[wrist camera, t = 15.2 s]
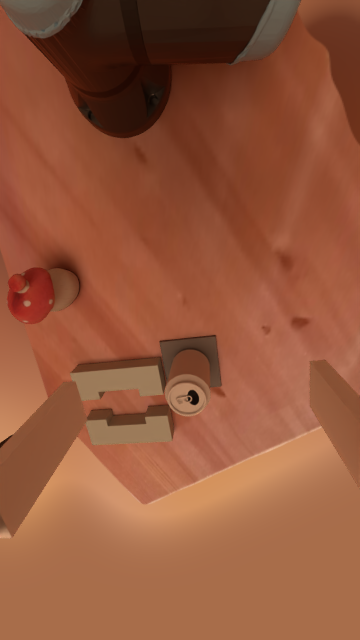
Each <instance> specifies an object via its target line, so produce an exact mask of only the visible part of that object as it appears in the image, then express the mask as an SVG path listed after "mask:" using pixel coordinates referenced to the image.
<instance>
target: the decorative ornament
mask: <svg viewBox="0 0 360 640" xmlns="http://www.w3.org/2000/svg"><path fill="white" fill-rule="evenodd" d="M8 284H9V288H10V289H9V292H8V297H7V305H8V307H9V310H10V312H11V313H12V315H13V316H14V317H15V318H16V319H17V320H19V321H21V322H23V323H26V324H35V323H38V322H40V321H42V320H43V319H44V318H45V317H46V316H47V315H48V313H49V312H50V311H60V310H62V309H64V308H66V307H68V306H69V305H70V304H71V303H72V302H73V301H74V300H75V298H76V297H77V295H78V292H79V282H78V278H77V277H76V275H75V274H73V273H72V272H70V271H68V270H64V269H60V268H55V269H51V270H48V271H46V270H45V269H42V268H31V269H29V270H27V271H25V272H23V273H22V274H15V275H13V276H12V277H11V278H10V279H9V281H8Z"/></svg>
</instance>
